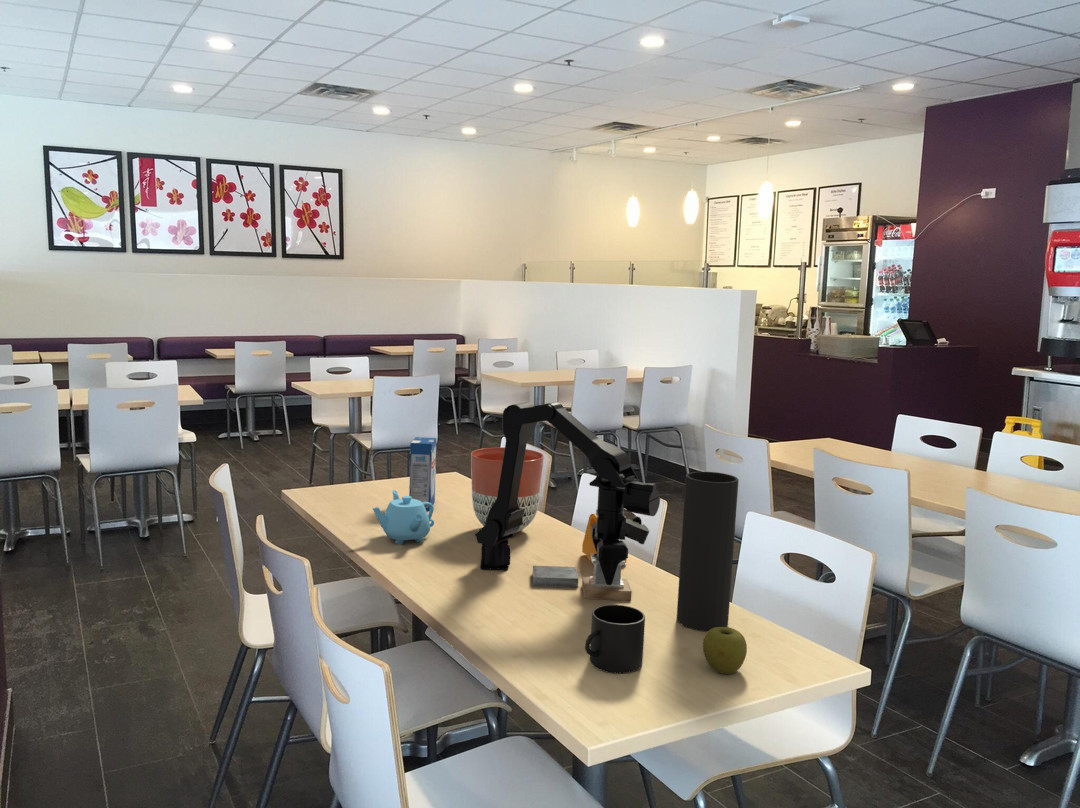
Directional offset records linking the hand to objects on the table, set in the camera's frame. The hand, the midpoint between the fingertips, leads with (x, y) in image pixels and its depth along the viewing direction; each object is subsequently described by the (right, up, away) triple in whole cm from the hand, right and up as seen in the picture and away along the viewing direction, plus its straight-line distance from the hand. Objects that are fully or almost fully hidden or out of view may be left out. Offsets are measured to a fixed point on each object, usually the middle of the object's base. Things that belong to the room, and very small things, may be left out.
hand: (606, 577), depth 186 cm
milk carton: (-50, +7, +67) cm, 84 cm away
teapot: (-50, +3, +34) cm, 60 cm away
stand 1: (-11, -2, +7) cm, 14 cm away
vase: (+18, -6, -14) cm, 24 cm away
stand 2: (0, -3, 0) cm, 4 cm away
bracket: (+1, -1, +23) cm, 23 cm away
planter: (-24, +3, +44) cm, 51 cm away
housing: (0, -2, 0) cm, 2 cm away
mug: (-2, -8, -35) cm, 36 cm away
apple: (+18, -9, -36) cm, 41 cm away
